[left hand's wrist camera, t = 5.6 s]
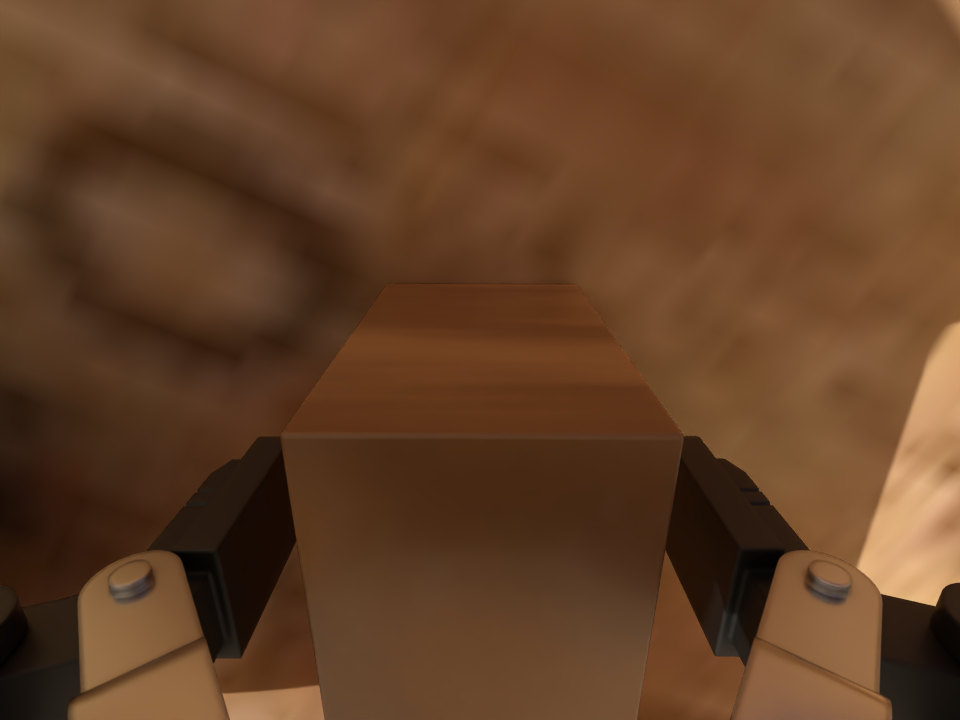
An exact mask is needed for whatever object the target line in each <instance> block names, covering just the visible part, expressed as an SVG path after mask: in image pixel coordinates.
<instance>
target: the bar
mask: <svg viewBox="0 0 960 720" xmlns="http://www.w3.org/2000/svg"><path fill="white" fill-rule="evenodd" d="M280 439H281V446H282V452H283V458H284V465H285V471H286V477H287V483H288V490H289V496H290V502H291V509H292V515H293V521H294V528H295V534H296V540H297V547H298V553H299V559H300V566H301V572H302V578H303V585H304V591H305V597H306V604H307V610H308V616H309V623H310V629H311V635H312V642H313V648H314V654H315V661H316V667H317V673H318V680H319V686H320V692H321V699H322V705H323V711H324V718H325V720H637V716H638V710H639V704H640V698H641V692H642V686H643V680H644V674H645V668H646V662H647V656H648V650H649V644H650V638H651V632H652V626H653V620H654V614H655V608H656V602H657V596H658V590H659V584H660V578H661V572H662V566H663V560H664V554H665V548H666V542H667V536H668V530H669V524H670V518H671V512H672V506H673V500H674V494H675V488H676V482H677V476H678V470H679V464H680V458H681V452H682V446H683V440H684V437H683V434H682V433H681V431H680V430H679V428H678V427H677V425H676V424H675V423H674V421H673V420H672V418H671V417H670V416H669V414H668V413H667V411H666V410H665V409H664V407H663V406H662V404H661V403H660V402H659V400H658V399H657V397H656V396H655V394H654V393H653V392H652V390H651V389H650V387H649V386H648V385H647V383H646V382H645V380H644V379H643V378H642V376H641V375H640V373H639V372H638V371H637V369H636V368H635V366H634V365H633V363H632V362H631V361H630V359H629V358H628V356H627V355H626V354H625V352H624V351H623V349H622V348H621V347H620V345H619V344H618V342H617V341H616V339H615V338H614V337H613V335H612V334H611V332H610V331H609V330H608V328H607V327H606V325H605V324H604V323H603V321H602V320H601V318H600V317H599V316H598V314H597V313H596V311H595V310H594V308H593V307H592V306H591V304H590V303H589V301H588V300H587V299H586V297H585V296H584V294H583V293H582V292H581V290H580V289H579V287H578V286H577V285H576V284H386V286H385V287H384V289H383V290H382V291H381V293H380V294H379V296H378V297H377V298H376V300H375V301H374V303H373V304H372V306H371V307H370V308H369V310H368V311H367V313H366V314H365V315H364V317H363V318H362V320H361V321H360V322H359V324H358V325H357V327H356V328H355V330H354V331H353V332H352V334H351V335H350V337H349V338H348V339H347V341H346V342H345V344H344V345H343V346H342V348H341V349H340V351H339V352H338V354H337V355H336V356H335V358H334V359H333V361H332V362H331V363H330V365H329V366H328V368H327V369H326V370H325V372H324V373H323V375H322V376H321V378H320V379H319V380H318V382H317V383H316V385H315V386H314V387H313V389H312V390H311V392H310V393H309V394H308V396H307V397H306V399H305V400H304V402H303V403H302V404H301V406H300V407H299V409H298V410H297V411H296V413H295V414H294V416H293V417H292V418H291V420H290V421H289V423H288V424H287V426H286V427H285V428H284V430H283V431H282V433H281V436H280Z"/></svg>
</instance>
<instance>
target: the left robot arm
mask: <svg viewBox="0 0 960 720" xmlns="http://www.w3.org/2000/svg"><path fill="white" fill-rule="evenodd" d="M683 437H684V440H683V446H682V452H681V458H680V464H679V470H678V476H677V482H676V488H675V494H674V500H673V506H672V512H671V518H670V524H669V530H668V536H667V542H666V548H665V550H666V552H667V554H668V556H669V558H670V561H671V563H672V565H673V567H674V569H675V571H676V573H677V576H678V578H679V580H680V582H681V584H682V586H683V588H684V591H685V593H686V595H687V597H688V599H689V601H690V604H691V606H692V608H693V610H694V612H695V614H696V616H697V619H698V621H699V623H700V625H701V627H702V629H703V631H704V634H705V636H706V638H707V640H708V642H709V644H710V646H711V649H712V651H713V653H714V655H715V656H740V658H741V660H742V662H743V664H744V666H745V671H744V675H743V678H742V681H741V685H740V688H739V692H738V695H737V698H736V702H735V705H734V708H733V712H732V715H731V718H730V720H960V583H954V584H950V585H948V586H946V587H945V588H944V589H943V590H942V592H941V595H940V597H939V600H938V602H937V604H936V606H931V605H927V604H923V603H918V602H914V601H909V600H905V599H900V598H896V597H892V596H887V595H883V594H880V591H879V590H878V588H877V587H876V585H875V584H874V583H873V582H872V581H871V580H870V579H869V578H868V577H867V576H866V575H865V574H864V573H862V572H861V571H860V570H858V569H857V568H855V567H854V566H852V565H850V564H849V563H847V562H845V561H843V560H841V559H838V558H836V557H833V556H831V555H828V554H824V553H820V552H816V551H810V550H809V549H808V547H807V546H806V545H805V544H804V543H803V541H802V540H801V539H800V538H799V537H798V535H797V534H796V533H795V532H794V531H793V529H792V528H791V527H790V526H789V525H788V523H787V522H786V521H785V520H784V518H783V517H782V516H781V515H780V514H779V512H778V511H777V510H776V509H775V508H774V506H773V505H770V502H769V500H768V499H767V498H766V497H765V495H764V494H763V493H762V492H759V488H758V487H757V486H756V485H755V483H754V482H753V481H752V480H751V479H750V477H749V476H748V475H747V474H746V473H745V472H744V471H742V470H741V469H739V468H738V467H736V466H735V465H733V464H732V463H730V462H729V461H727V460H726V459H716V458H715V457H714V455H713V454H712V453H711V451H710V450H709V449H708V448H707V446H706V445H705V444H704V442H703V441H702V440H701V439H700V437H698V436H683ZM186 504H187V505H186V507H183V508H182V509H181V510H180V511H179V513H178V514H177V515H176V516H175V517H174V519H173V520H172V521H171V522H170V523H169V525H168V526H167V527H166V528H165V529H164V531H163V532H162V533H161V534H160V535H159V537H158V538H157V539H156V540H155V541H154V543H153V544H152V545H151V546H150V547H149V549H148V550H147V551H144V552H140V553H136V554H132V555H129V556H127V557H124V558H122V559H119V560H117V561H115V562H113V563H111V564H110V565H108V566H106V567H105V568H103V569H102V570H100V571H99V572H98V573H96V574H95V575H94V576H93V577H92V578H91V579H90V580H89V581H88V582H87V583H86V584H85V585H84V587H83V588H82V590H81V591H80V594H79V595H76V596H72V597H67V598H63V599H59V600H54V601H50V602H45V603H41V604H37V605H32V606H28V607H23V608H22V606H21V604H20V601H19V599H18V597H17V594H16V592H15V591H14V590H13V589H12V588H10V587H8V586H5V585H0V720H230V718H229V715H228V712H227V708H226V705H225V702H224V698H223V695H222V692H221V688H220V685H219V681H218V678H217V675H216V671H215V668H214V665H213V663H214V662H215V660H216V658H241V657H242V655H243V653H244V651H245V649H246V647H247V645H248V642H249V640H250V638H251V636H252V634H253V632H254V630H255V628H256V625H257V623H258V621H259V619H260V617H261V615H262V613H263V611H264V608H265V606H266V604H267V602H268V600H269V598H270V596H271V594H272V592H273V589H274V587H275V585H276V583H277V581H278V579H279V577H280V575H281V572H282V570H283V568H284V566H285V564H286V562H287V560H288V558H289V555H290V553H291V551H292V549H293V547H294V545H295V543H296V541H297V540H296V534H295V528H294V521H293V515H292V509H291V502H290V496H289V490H288V483H287V477H286V471H285V465H284V458H283V452H282V446H281V439H280V437H259V438H257V439H256V441H255V442H254V443H253V444H252V446H251V447H250V448H249V450H248V451H247V452H246V453H245V455H244V456H243V457H242V459H241V460H231V461H230V462H228V463H227V464H225V465H223V466H222V467H220V468H219V469H217V470H216V471H214V472H213V473H211V474H210V476H209V477H208V478H207V479H206V480H205V482H204V483H203V484H202V485H201V486H200V488H199V489H198V492H197V493H195V494H194V495H193V496H192V497H191V498H190V500H189V501H188V502H187V503H186Z"/></svg>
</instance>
